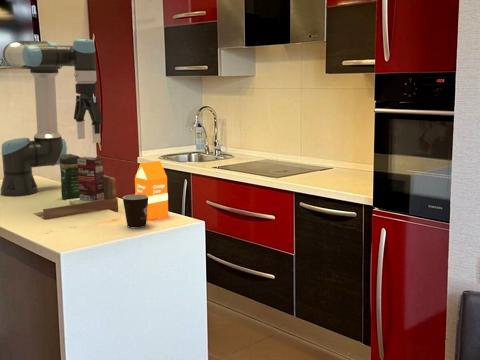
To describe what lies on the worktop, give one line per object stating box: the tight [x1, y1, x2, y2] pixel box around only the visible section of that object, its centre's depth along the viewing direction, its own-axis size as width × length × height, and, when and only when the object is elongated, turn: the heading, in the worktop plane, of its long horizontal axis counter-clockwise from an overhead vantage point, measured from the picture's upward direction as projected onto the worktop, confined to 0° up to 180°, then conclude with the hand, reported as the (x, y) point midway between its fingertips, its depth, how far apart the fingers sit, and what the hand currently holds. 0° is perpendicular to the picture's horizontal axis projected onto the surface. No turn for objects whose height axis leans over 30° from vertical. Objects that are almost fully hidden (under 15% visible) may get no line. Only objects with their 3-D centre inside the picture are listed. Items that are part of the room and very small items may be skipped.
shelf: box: [32, 174, 119, 221], centre depth 219 cm, size 12×28×12 cm, turn 128°
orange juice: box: [134, 160, 169, 221], centre depth 214 cm, size 8×9×20 cm
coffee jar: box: [59, 153, 82, 201], centre depth 245 cm, size 10×8×19 cm
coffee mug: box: [122, 193, 148, 228], centre depth 202 cm, size 12×9×10 cm
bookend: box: [69, 199, 93, 205], centre depth 222 cm, size 8×3×9 cm
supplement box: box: [77, 156, 104, 202], centre depth 222 cm, size 9×5×16 cm, turn 62°
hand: (88, 140), depth 221 cm, fingers open, 13 cm apart
